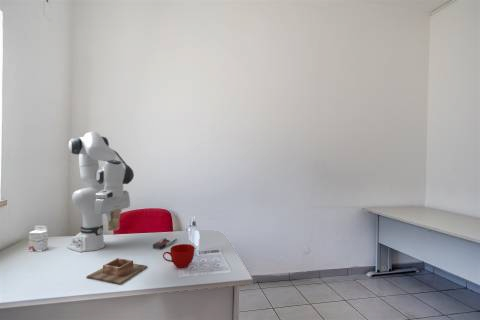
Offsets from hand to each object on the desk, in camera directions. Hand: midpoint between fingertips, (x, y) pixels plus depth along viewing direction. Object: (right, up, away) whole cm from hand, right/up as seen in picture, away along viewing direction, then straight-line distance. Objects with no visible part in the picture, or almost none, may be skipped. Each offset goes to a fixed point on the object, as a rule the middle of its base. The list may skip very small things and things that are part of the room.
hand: (113, 219), depth 133 cm
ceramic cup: (+31, -28, +10) cm, 43 cm away
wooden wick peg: (0, -5, 0) cm, 5 cm away
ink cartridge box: (-62, -26, +30) cm, 73 cm away
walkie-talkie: (+13, -28, +45) cm, 55 cm away
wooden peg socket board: (+2, -28, +1) cm, 28 cm away
